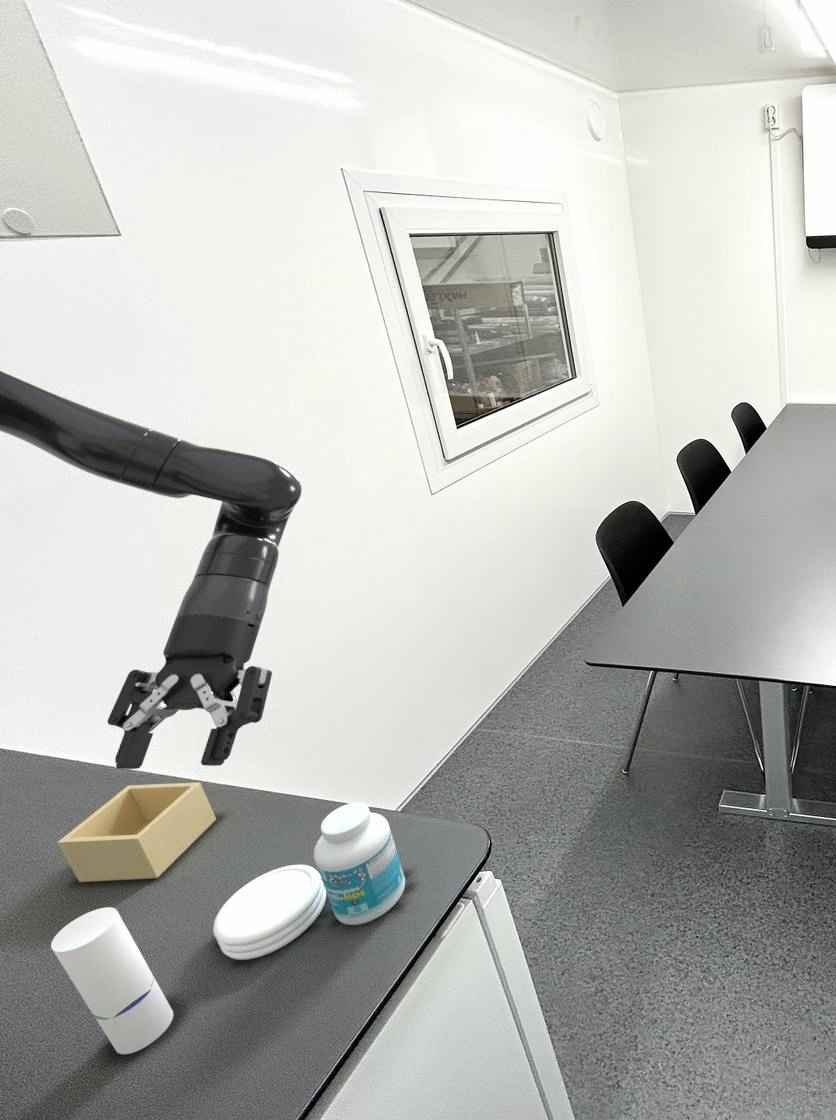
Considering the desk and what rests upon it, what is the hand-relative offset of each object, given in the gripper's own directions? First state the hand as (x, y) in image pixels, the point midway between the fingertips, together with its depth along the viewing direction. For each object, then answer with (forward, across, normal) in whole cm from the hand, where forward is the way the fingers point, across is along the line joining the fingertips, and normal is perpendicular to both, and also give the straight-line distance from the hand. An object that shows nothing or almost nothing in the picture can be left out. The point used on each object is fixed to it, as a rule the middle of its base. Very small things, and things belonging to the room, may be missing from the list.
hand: (170, 767), depth 67 cm
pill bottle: (+15, +15, +17) cm, 28 cm away
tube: (+25, 0, +8) cm, 26 cm away
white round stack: (+17, +5, +16) cm, 24 cm away
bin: (+9, -19, +24) cm, 32 cm away
